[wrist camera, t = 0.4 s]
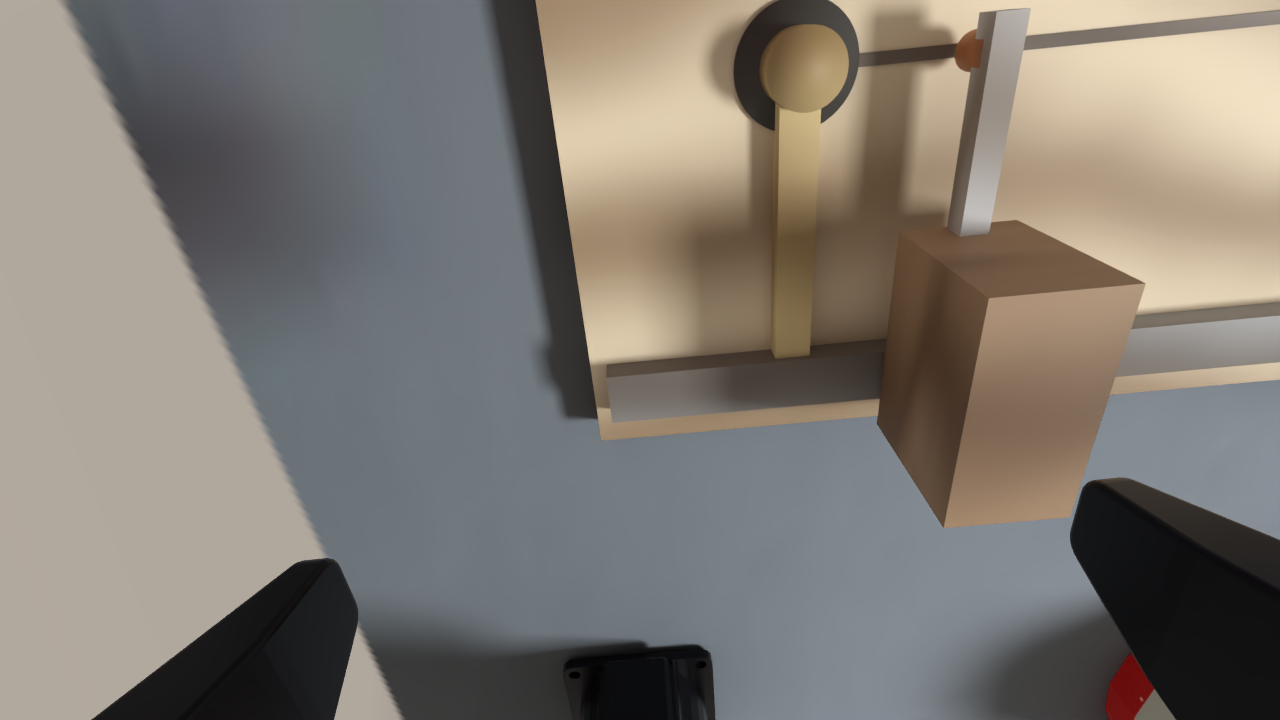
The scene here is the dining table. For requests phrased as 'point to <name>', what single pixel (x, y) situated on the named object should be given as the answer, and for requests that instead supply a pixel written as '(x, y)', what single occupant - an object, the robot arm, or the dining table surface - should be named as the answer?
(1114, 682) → the white dome
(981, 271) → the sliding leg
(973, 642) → the dining table surface
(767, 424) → the gauge board
